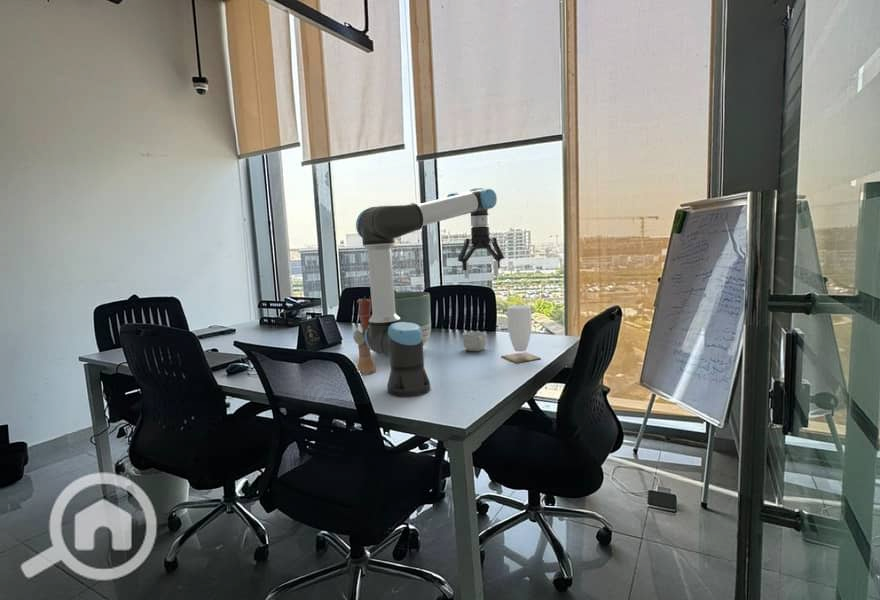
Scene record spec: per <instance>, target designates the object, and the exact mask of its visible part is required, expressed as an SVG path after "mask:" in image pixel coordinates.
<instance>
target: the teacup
mask: <svg viewBox="0 0 880 600" xmlns="http://www.w3.org/2000/svg"><path fill="white" fill-rule="evenodd" d="M462 341H463V342H462V343H463V347H464V348H465V349H466V350H467V351H469V352H480V351H483V349H485V347H486V344H487V333H486V332H483V331H465V332H464V333H462Z"/></svg>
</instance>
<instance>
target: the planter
mask: <svg viewBox="0 0 880 600" xmlns="http://www.w3.org/2000/svg"><path fill="white" fill-rule="evenodd" d="M394 296H395V310H396V314H397V315H398V316H399V317H400V322H407V323H414V324H417V325H419V326H420V328H421V330H422V335H423V347H424V346H425V345H426V344H427V343H428V341H429V339H430V336H431V331H432V320H431V319H432V318H431V317H432V316H431V314H432V313H431V294H430V292H428V291H427V292H425V291H394Z"/></svg>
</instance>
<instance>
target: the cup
mask: <svg viewBox="0 0 880 600" xmlns="http://www.w3.org/2000/svg"><path fill="white" fill-rule="evenodd" d="M506 309H507V310H506V311H507V312H506V315H507V317H506V318H507V320H506V321H507V330H508V334H509V339H510V342H511V345H512V347H513V349H514V351H515V352H527V351H526V350H527V348H528V346H529V342H530V341H531V335H532V318H533V317H532V307H531V305H527V304H515V305H509V306H507V307H506Z"/></svg>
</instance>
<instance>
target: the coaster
mask: <svg viewBox="0 0 880 600" xmlns="http://www.w3.org/2000/svg"><path fill="white" fill-rule="evenodd" d="M501 358H502V359H504V360H506V361H509V362H511V363H513V364H521V363H527V362H532V361H539V360H542V358H541V357H539V356H536V355H534V354H531V353H529V352H527V351H522V352H519V353H518V352H517V353H511V354H505V355H501Z"/></svg>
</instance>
